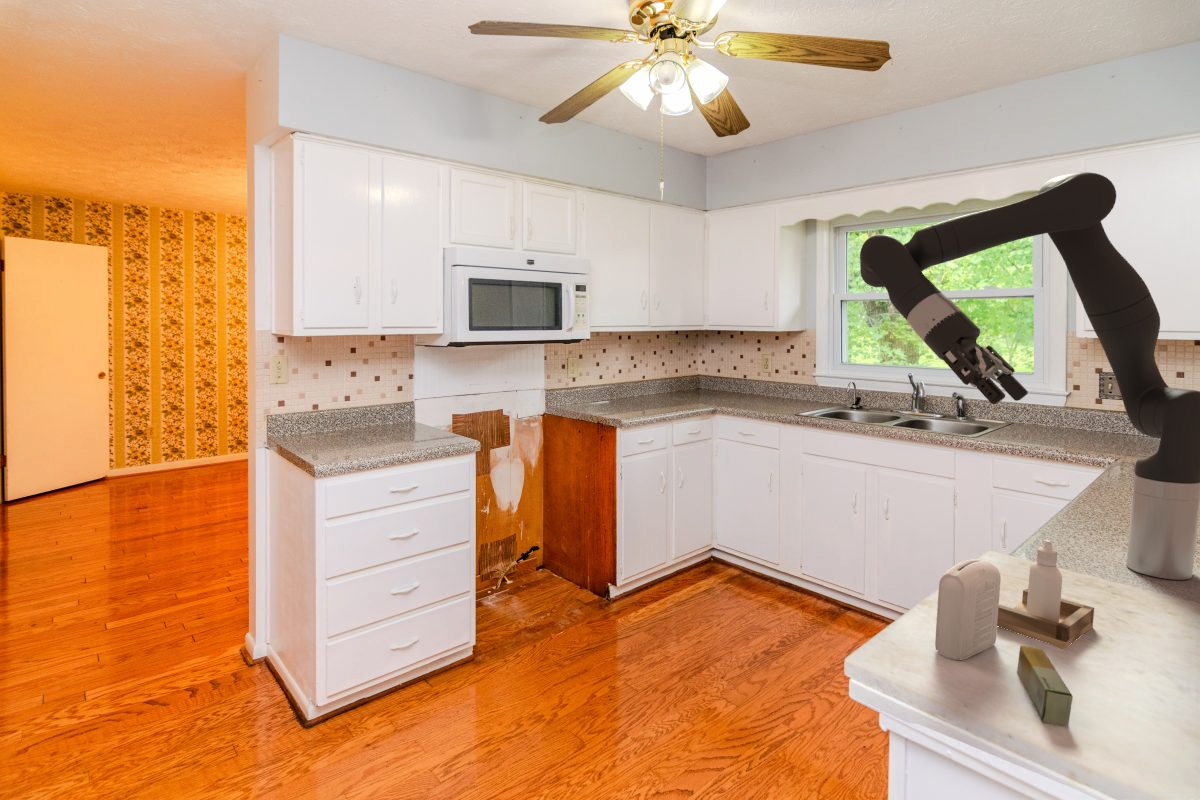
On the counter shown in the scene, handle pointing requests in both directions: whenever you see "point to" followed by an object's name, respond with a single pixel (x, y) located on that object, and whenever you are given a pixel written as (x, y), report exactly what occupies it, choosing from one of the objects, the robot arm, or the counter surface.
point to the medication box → (1044, 686)
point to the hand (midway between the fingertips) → (1011, 399)
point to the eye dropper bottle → (1045, 584)
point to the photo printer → (967, 609)
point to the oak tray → (1048, 622)
